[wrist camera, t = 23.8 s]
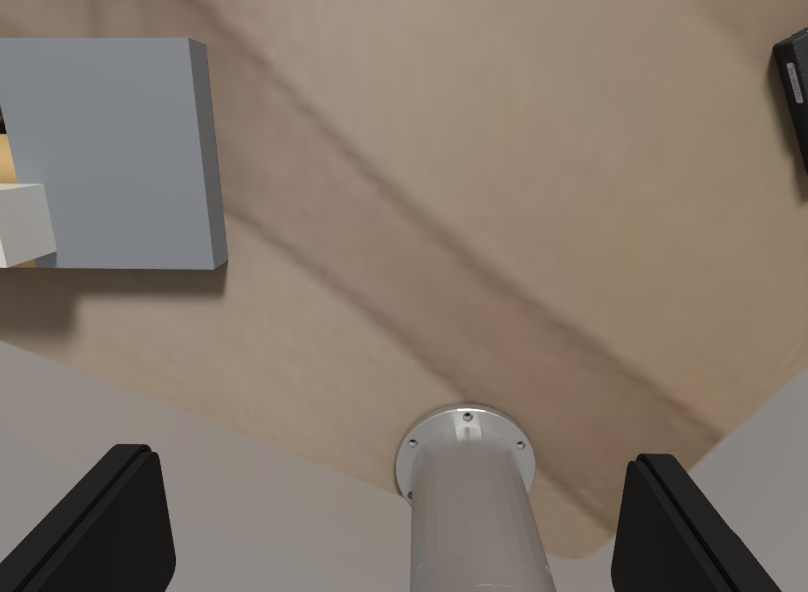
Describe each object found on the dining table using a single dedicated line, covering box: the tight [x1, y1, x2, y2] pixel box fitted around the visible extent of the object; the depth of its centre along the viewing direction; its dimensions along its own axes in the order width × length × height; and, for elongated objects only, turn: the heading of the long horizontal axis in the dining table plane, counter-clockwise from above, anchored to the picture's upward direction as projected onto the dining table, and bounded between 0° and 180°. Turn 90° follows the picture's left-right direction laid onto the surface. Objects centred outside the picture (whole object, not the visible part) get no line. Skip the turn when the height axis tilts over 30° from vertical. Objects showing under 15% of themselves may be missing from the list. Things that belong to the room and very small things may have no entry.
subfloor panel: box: [0, 38, 228, 270], centre depth 39 cm, size 16×22×3 cm
